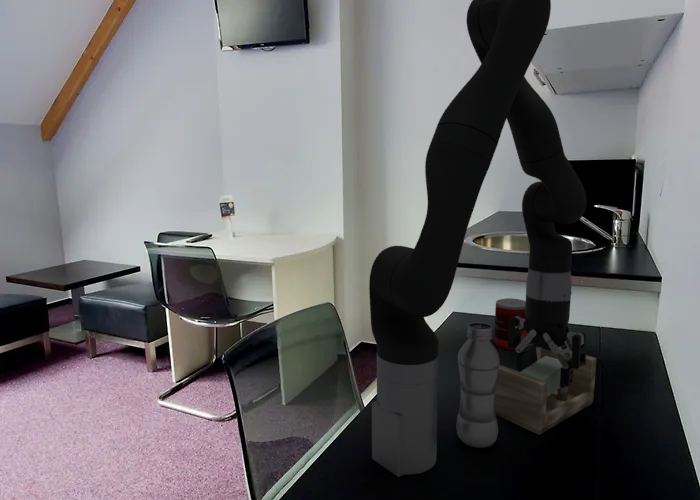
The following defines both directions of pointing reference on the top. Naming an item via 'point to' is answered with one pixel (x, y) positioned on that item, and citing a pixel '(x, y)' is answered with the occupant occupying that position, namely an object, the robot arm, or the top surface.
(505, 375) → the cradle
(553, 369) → the grey-green rectangular block
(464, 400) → the plastic bottle
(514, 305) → the canned food
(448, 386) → the top surface
